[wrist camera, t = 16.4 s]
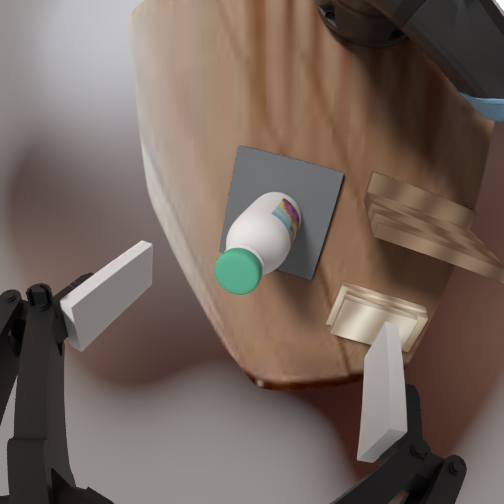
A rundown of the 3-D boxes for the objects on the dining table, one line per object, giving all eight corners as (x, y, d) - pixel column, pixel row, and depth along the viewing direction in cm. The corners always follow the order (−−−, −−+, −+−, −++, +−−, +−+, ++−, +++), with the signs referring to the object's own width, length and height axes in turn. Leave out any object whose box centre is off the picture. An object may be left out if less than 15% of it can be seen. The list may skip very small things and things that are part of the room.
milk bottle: (250, 234, 50) (198, 299, 32) (254, 187, 47) (198, 230, 29) (298, 243, 48) (270, 317, 31) (305, 195, 45) (280, 245, 27)
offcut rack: (321, 317, 53) (310, 382, 39) (372, 171, 42) (388, 195, 28) (410, 342, 51) (421, 407, 36) (473, 210, 39) (520, 249, 25)
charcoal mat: (221, 249, 54) (219, 251, 53) (240, 145, 46) (238, 145, 45) (311, 277, 51) (311, 280, 50) (343, 172, 43) (343, 173, 42)
